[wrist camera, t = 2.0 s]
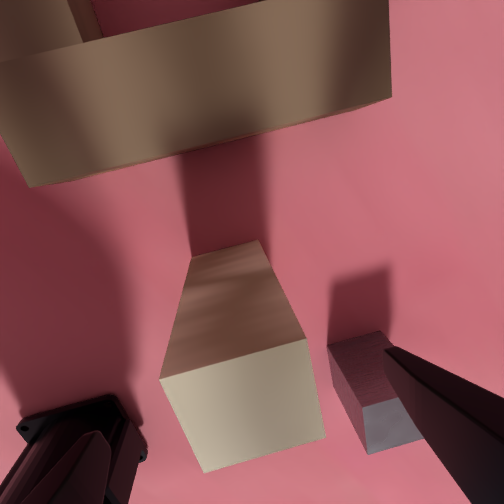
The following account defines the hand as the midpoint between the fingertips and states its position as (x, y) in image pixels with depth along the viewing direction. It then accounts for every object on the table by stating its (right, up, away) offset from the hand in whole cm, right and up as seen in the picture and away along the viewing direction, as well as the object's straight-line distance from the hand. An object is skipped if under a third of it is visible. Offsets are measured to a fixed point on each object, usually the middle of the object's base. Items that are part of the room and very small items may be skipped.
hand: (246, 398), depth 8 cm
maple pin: (-1, +3, +8) cm, 9 cm away
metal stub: (+8, -3, +11) cm, 14 cm away
